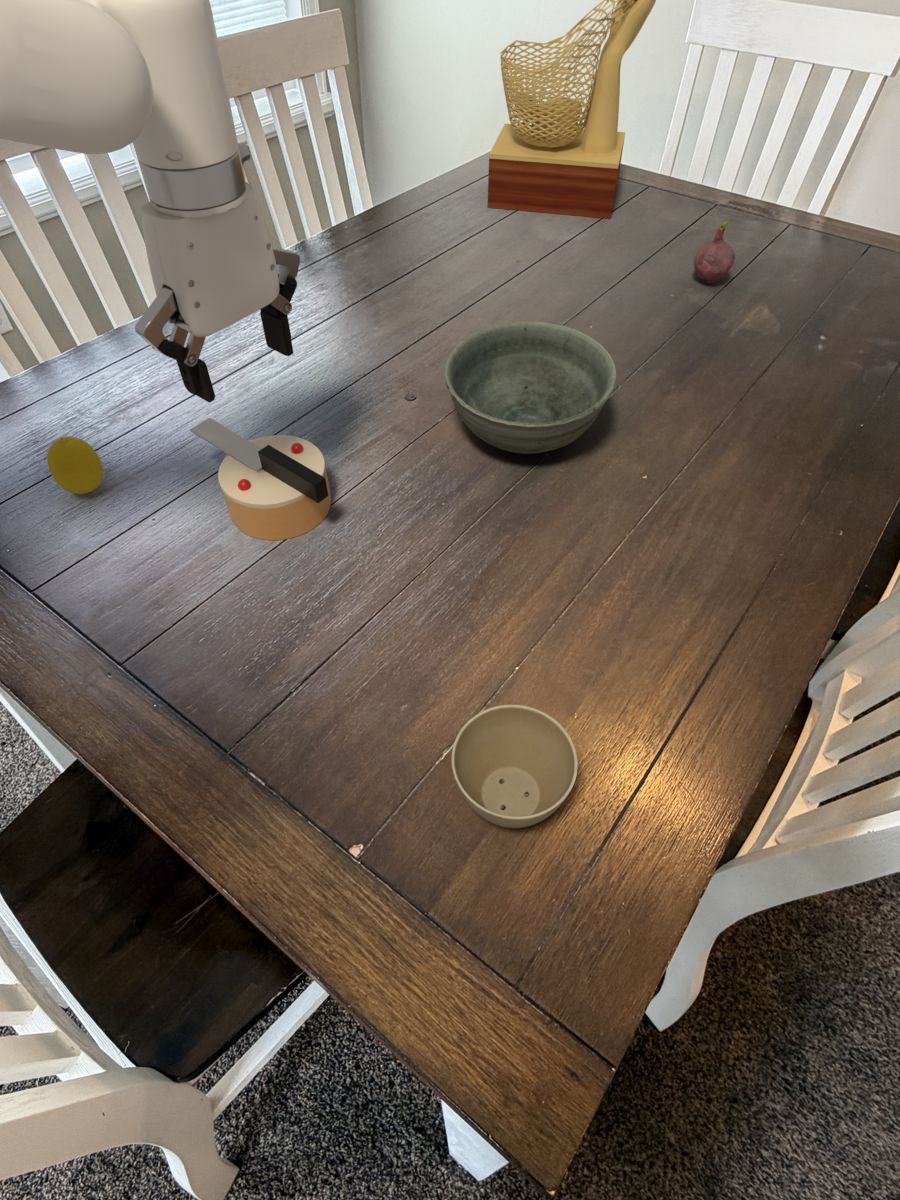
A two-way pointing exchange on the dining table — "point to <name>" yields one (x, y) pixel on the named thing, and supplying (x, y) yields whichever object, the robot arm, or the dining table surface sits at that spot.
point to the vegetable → (714, 258)
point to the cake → (273, 493)
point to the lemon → (75, 465)
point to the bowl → (529, 384)
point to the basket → (565, 121)
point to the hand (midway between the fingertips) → (242, 372)
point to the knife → (264, 459)
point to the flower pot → (514, 765)
